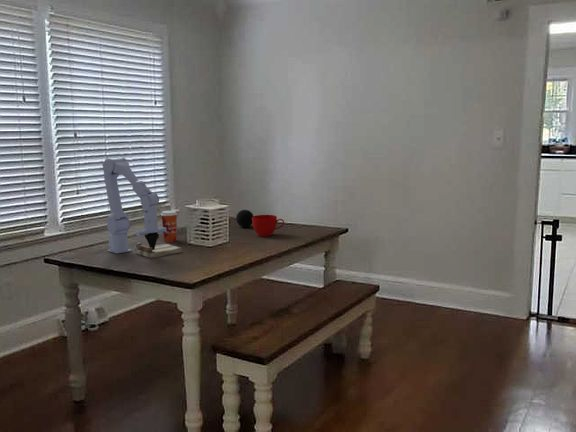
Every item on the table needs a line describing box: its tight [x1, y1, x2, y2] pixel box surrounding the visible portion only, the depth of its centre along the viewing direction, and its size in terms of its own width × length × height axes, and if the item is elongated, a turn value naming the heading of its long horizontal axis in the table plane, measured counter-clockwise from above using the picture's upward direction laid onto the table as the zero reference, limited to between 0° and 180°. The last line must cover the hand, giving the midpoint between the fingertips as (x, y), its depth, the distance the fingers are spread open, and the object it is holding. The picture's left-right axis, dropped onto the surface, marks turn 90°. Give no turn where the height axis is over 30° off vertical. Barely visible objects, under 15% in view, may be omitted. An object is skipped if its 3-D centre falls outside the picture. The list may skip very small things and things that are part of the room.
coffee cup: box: [160, 210, 178, 243], centre depth 305 cm, size 8×8×15 cm
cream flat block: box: [134, 243, 182, 259], centre depth 279 cm, size 14×16×2 cm
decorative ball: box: [235, 209, 254, 228], centre depth 340 cm, size 10×10×10 cm
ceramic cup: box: [252, 214, 285, 237], centre depth 315 cm, size 13×17×10 cm
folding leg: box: [135, 242, 153, 252], centre depth 275 cm, size 11×2×3 cm, turn 43°
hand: (152, 249), depth 273 cm, fingers closed
